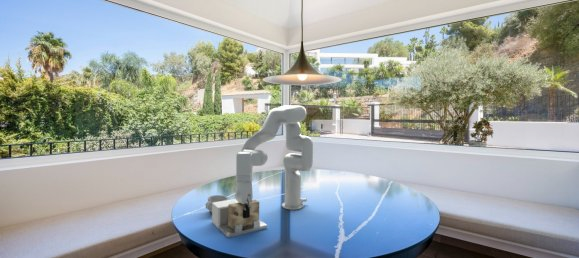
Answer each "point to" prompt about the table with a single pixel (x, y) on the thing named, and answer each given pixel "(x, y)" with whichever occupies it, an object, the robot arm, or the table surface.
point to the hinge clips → (241, 228)
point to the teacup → (214, 200)
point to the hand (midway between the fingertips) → (244, 215)
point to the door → (237, 214)
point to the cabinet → (221, 211)
